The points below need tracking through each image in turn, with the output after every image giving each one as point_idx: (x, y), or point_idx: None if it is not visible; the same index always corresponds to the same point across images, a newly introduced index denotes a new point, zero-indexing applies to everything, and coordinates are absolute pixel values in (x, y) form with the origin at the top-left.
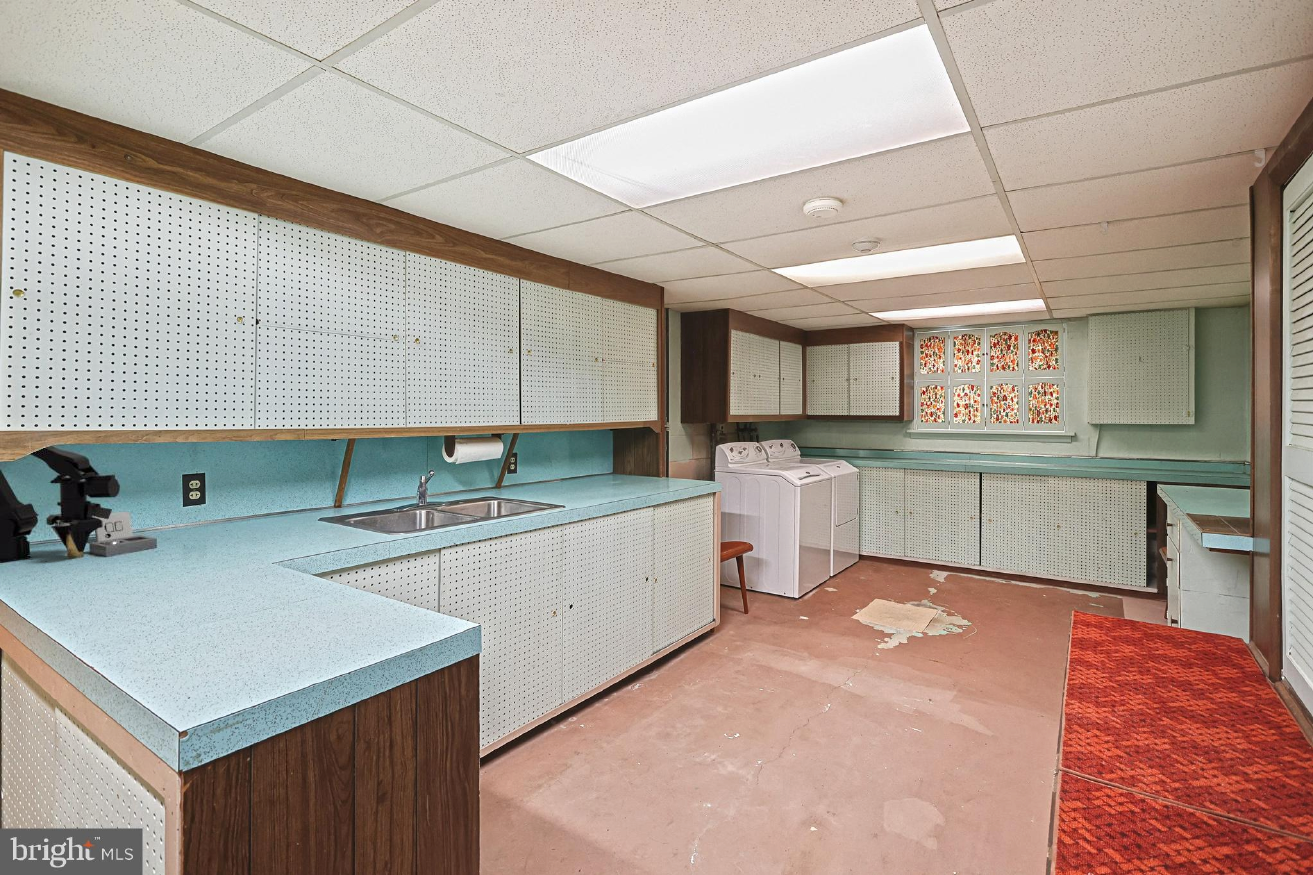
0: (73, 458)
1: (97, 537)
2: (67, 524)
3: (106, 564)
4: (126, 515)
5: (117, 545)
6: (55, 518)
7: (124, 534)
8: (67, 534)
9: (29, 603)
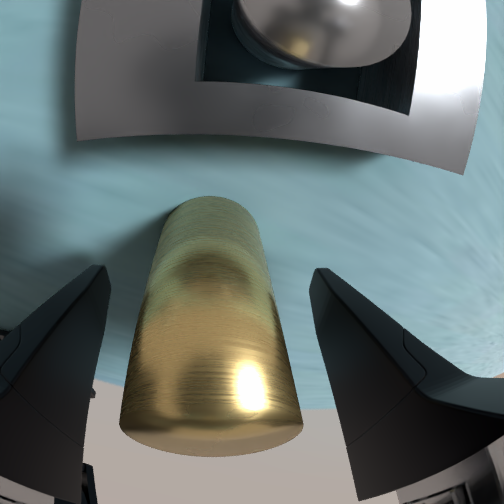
0: None
1: None
2: (8, 490)
3: (497, 246)
4: None
5: (479, 90)
6: None
7: None
8: (189, 453)
9: (485, 377)
